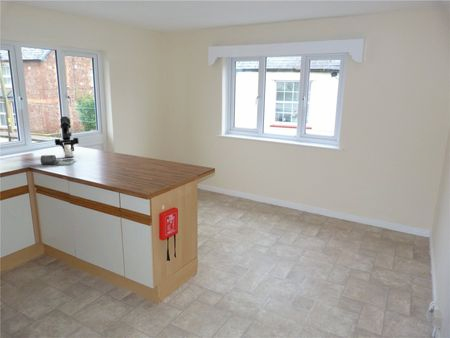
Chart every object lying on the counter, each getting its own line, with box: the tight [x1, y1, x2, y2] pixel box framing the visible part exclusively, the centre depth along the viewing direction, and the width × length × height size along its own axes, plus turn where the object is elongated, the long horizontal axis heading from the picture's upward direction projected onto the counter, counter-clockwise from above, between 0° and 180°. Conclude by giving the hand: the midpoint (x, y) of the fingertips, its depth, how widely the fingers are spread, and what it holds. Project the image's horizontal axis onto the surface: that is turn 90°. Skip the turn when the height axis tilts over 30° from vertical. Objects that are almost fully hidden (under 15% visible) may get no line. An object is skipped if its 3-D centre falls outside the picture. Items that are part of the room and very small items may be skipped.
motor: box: [40, 154, 77, 167], centre depth 295 cm, size 12×26×8 cm, turn 98°
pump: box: [63, 144, 74, 158], centre depth 293 cm, size 6×6×10 cm
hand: (67, 149), depth 292 cm, fingers closed on pump, 5 cm apart
